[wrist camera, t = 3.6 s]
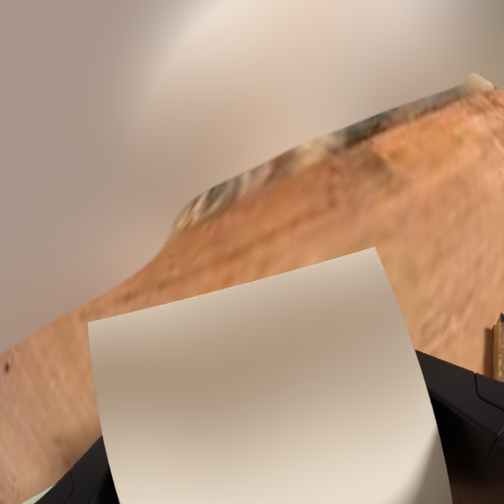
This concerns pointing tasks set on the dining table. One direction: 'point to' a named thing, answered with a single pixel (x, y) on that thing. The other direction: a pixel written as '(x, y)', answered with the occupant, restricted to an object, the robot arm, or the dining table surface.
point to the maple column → (270, 395)
